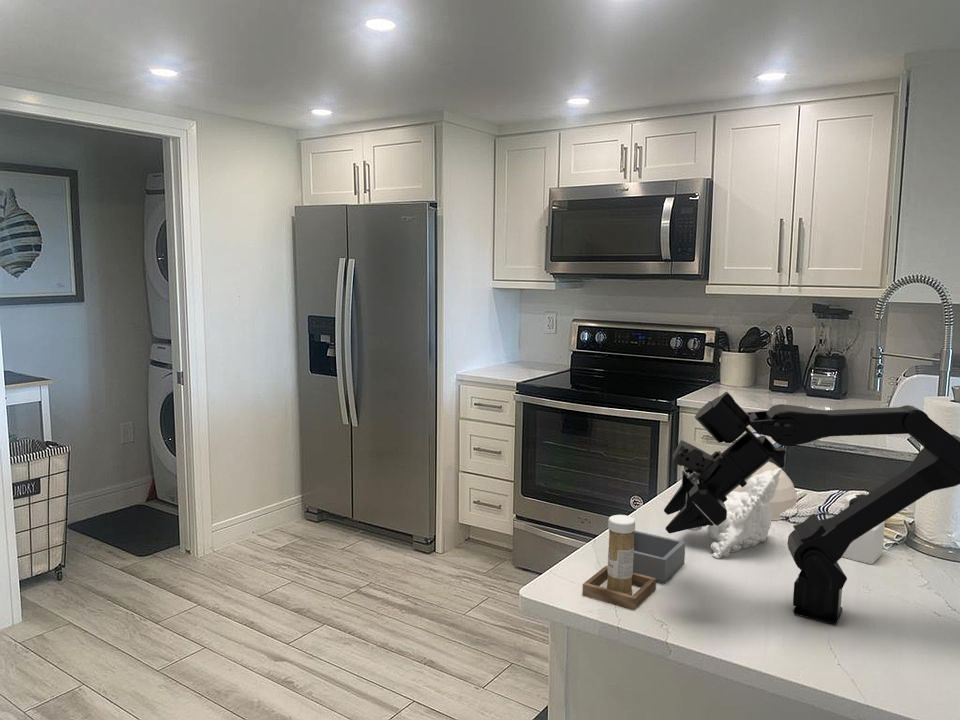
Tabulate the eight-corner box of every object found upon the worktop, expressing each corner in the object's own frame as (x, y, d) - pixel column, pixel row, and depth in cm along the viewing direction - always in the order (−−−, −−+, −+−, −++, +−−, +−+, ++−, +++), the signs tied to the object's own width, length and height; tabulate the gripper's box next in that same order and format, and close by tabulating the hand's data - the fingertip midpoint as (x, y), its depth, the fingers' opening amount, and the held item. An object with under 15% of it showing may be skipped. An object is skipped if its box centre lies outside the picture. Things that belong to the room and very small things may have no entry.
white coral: (789, 489, 156) (779, 459, 140) (782, 583, 149) (770, 562, 133) (700, 480, 165) (681, 451, 150) (690, 568, 158) (668, 547, 142)
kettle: (704, 515, 166) (708, 438, 164) (709, 489, 186) (713, 420, 183) (800, 527, 159) (805, 447, 157) (795, 498, 178) (800, 427, 176)
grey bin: (684, 564, 139) (685, 541, 138) (664, 584, 130) (665, 560, 129) (632, 551, 144) (633, 530, 144) (610, 569, 136) (610, 546, 135)
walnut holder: (655, 589, 128) (656, 578, 128) (634, 610, 120) (634, 598, 120) (605, 575, 133) (606, 565, 133) (582, 594, 125) (582, 584, 125)
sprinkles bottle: (603, 586, 129) (605, 514, 127) (628, 585, 129) (630, 513, 127) (610, 598, 124) (612, 523, 122) (636, 597, 125) (638, 522, 123)
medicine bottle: (882, 554, 144) (887, 496, 142) (872, 565, 139) (877, 505, 137) (844, 545, 149) (848, 488, 147) (832, 555, 143) (837, 496, 142)
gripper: (699, 416, 129) (634, 471, 133) (708, 440, 111) (632, 504, 115) (743, 461, 128) (676, 516, 132) (759, 493, 110) (681, 556, 114)
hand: (666, 521), depth 123 cm, fingers open, 9 cm apart
